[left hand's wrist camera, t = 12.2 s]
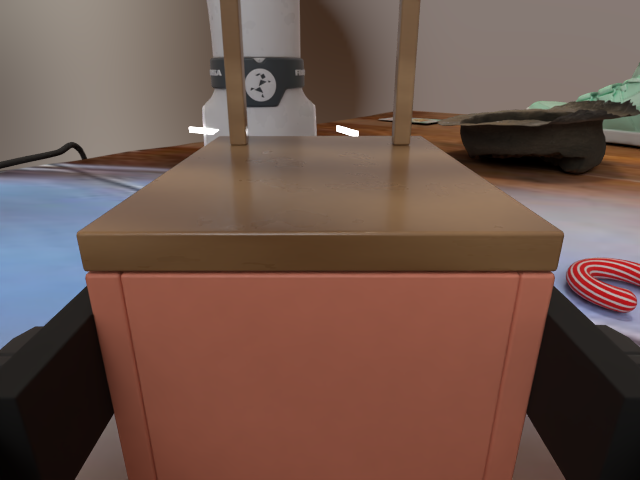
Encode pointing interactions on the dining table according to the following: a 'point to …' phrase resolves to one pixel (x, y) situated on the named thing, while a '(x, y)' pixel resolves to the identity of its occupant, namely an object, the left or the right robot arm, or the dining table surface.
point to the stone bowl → (543, 132)
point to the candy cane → (588, 286)
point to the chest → (320, 371)
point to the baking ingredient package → (416, 120)
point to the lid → (320, 198)
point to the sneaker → (618, 129)
